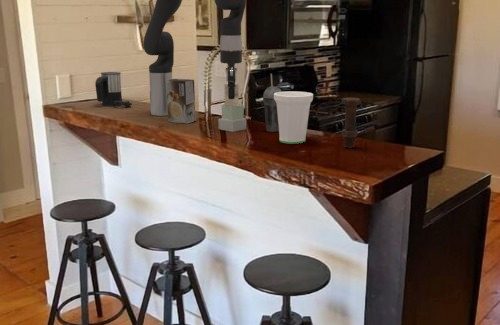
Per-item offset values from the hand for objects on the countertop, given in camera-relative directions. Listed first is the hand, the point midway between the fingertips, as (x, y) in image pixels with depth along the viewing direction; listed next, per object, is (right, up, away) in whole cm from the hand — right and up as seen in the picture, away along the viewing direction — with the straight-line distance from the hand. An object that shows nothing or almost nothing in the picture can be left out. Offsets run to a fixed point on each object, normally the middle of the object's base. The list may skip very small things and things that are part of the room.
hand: (231, 97), depth 187 cm
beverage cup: (+15, -12, +1) cm, 19 cm away
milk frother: (-54, +3, +53) cm, 76 cm away
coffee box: (-20, -7, +16) cm, 27 cm away
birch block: (0, -2, +1) cm, 3 cm away
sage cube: (0, -7, +2) cm, 8 cm away
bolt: (+37, -18, -24) cm, 48 cm away
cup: (+20, -16, -16) cm, 31 cm away
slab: (0, -11, +3) cm, 12 cm away
